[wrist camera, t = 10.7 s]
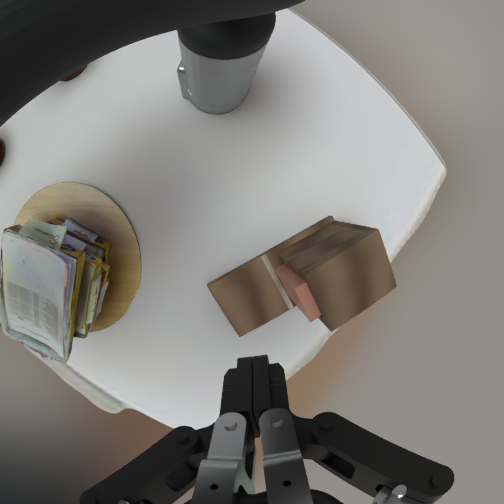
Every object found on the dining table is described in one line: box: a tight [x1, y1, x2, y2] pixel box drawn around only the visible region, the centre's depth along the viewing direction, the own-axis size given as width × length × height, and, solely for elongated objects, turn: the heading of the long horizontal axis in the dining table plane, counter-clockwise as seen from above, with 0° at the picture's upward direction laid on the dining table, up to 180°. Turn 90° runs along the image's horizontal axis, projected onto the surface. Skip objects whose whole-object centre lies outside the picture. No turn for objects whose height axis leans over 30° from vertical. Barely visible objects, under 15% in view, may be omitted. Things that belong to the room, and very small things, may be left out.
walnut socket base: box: [207, 216, 396, 337], centre depth 37 cm, size 22×10×13 cm, turn 118°
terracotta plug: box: [274, 263, 321, 322], centre depth 37 cm, size 5×5×10 cm
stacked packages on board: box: [0, 182, 141, 363], centre depth 29 cm, size 25×25×17 cm
